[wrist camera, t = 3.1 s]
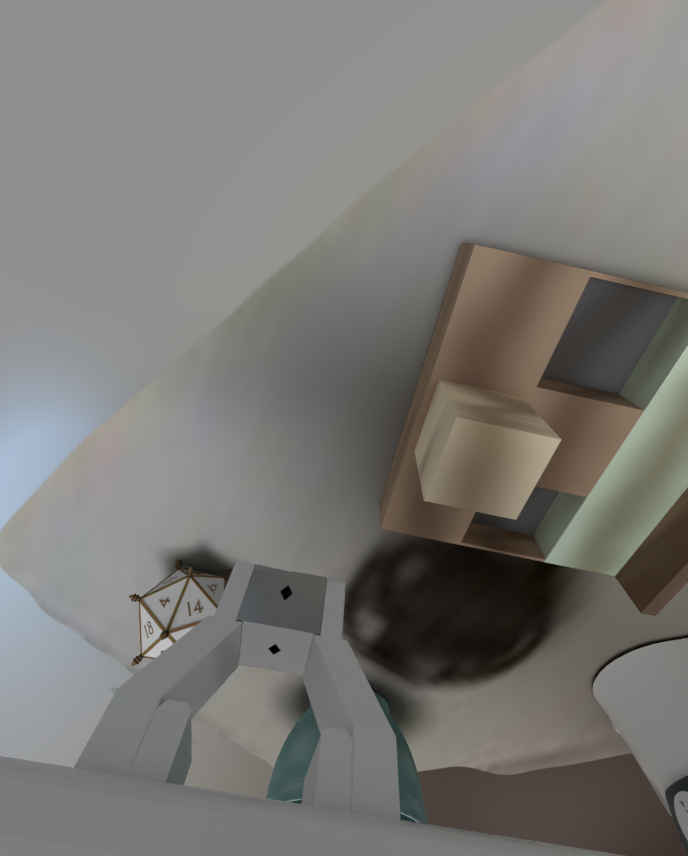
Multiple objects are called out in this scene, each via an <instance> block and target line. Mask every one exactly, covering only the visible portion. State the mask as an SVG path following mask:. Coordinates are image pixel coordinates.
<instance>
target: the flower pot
mask: <svg viewBox="0 0 688 856" xmlns="http://www.w3.org/2000/svg"><path fill="white" fill-rule="evenodd" d="M373 692H374V691H373ZM374 694H375V696H376V698H377V700H378V702H379V704H380V706H381V708H382V710H383V712H384V714H385V716H386V718H387V720H388V722H389V724H390V726H391V728H392V730H393V732H394V734H395V736H396V745H397V764H398V783H399V801H400V820H404V821H410V822H417V823H423V824H428V822H427V818H426V815H425V812H424V804H423V797H422V791H421V786H420V781H419V778H418V774H417V770H416V766H415V763H414V760H413V757H412V754H411V752H410V749H409V747H408V745H407V742H406V740H405V738H404V736H403V734H402V732H401V731H400V729H399V727H398V726H397V724H396V723H395V721H394V720H393V718H392V717H391V713H390V708H389V705H388V703H387V701H386V700H385V699H384V698H383V697H382V696H381V695H379V694H378V693H376V692H374ZM320 736H321V734H320V731H319V728H318V725H317V722H316V718H315V715H314V712H313V709H312V706H311V703H310V706H309V709H308V710H307V711H306V712H305V713H304V714H303V716H302V717H301V718H300V719H299V720H298V722H297V723H296V725H295V726H294V727H293V729H292V731H291V732H290V734H289V735H288V737H287V739H286V741H285V743H284V745H283V747H282V749H281V751H280V754H279V756H278V759H277V761H276V764H275V767H274V770H273V773H272V777H271V781H270V784H269V789H268V794H267V797H266V799H273V800H279V801H285V802H291V803H298V804H302V796H303V788H304V780H305V777H306V774H307V771H308V769H309V766H310V763H311V760H312V758H313V755H314V752H315V750H316V747H317V744H318V741H319V739H320Z"/></svg>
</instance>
